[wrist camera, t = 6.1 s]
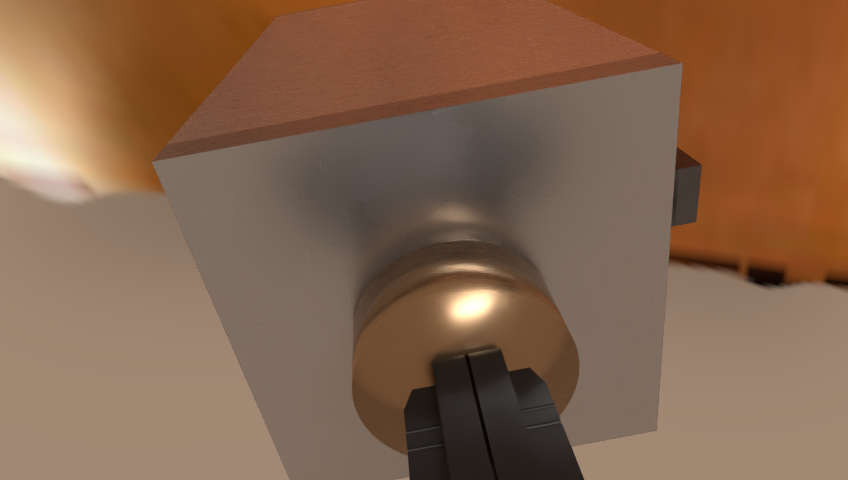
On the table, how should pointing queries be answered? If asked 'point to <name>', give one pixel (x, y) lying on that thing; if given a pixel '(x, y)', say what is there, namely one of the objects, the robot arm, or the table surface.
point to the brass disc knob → (453, 328)
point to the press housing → (432, 197)
